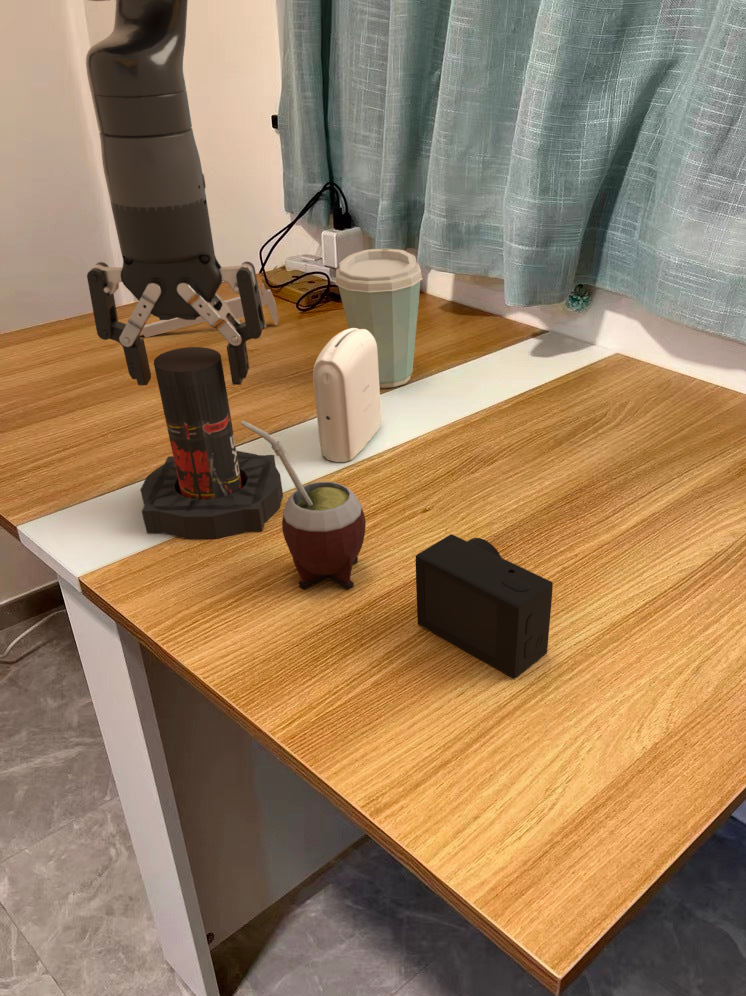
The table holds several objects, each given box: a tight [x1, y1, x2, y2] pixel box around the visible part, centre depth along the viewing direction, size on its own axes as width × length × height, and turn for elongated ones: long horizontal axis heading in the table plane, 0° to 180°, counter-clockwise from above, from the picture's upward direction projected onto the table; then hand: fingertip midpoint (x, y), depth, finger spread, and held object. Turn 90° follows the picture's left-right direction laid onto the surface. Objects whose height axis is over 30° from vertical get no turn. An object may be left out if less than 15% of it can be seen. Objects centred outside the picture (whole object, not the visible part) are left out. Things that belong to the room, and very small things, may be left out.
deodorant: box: [153, 346, 242, 500], centre depth 85 cm, size 6×6×15 cm
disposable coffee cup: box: [335, 248, 424, 389], centre depth 110 cm, size 11×11×15 cm
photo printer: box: [312, 328, 382, 463], centre depth 96 cm, size 10×4×12 cm, turn 162°
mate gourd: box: [241, 419, 367, 591], centre depth 74 cm, size 8×8×15 cm
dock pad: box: [140, 450, 284, 540], centre depth 88 cm, size 13×13×2 cm
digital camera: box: [415, 533, 554, 680], centre depth 70 cm, size 10×5×7 cm, turn 48°
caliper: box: [139, 282, 279, 338], centre depth 127 cm, size 20×1×6 cm, turn 103°
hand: (192, 382), depth 81 cm, fingers open, 8 cm apart
